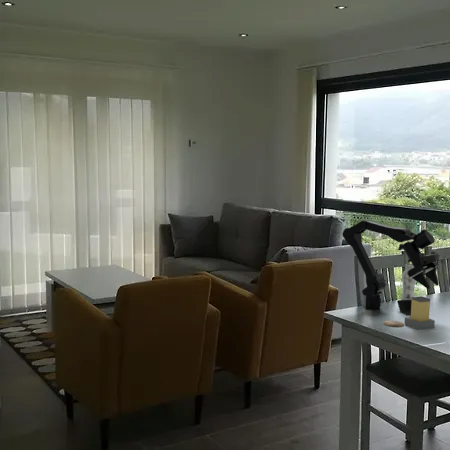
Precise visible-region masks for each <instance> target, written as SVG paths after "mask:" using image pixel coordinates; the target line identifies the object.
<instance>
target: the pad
mask: <svg viewBox="0 0 450 450" xmlns="http://www.w3.org/2000/svg"><path fill="white" fill-rule="evenodd" d="M383 325H385V326H386V327H387V326H388V327H391V328H402V327H404V326H405V322H404V323H403V322H401V321H397V320H384V321H383Z"/></svg>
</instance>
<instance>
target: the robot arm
mask: <svg viewBox="0 0 450 450" xmlns="http://www.w3.org/2000/svg"><path fill="white" fill-rule="evenodd" d="M366 231H370V232H374V233H377V234H381V235H384V236H387V237H388V238H390V239H391V240H394V241H395V242H398V243H399V244H398V247H397V248H398V249H397V251H404V254H406V256H407V258H408V259H407V261H408V263H410V264H412V265H413V267H414V268H412V269H410V270H409V271H408V273H407V274H408V276H409V278H410V277H412V279H414V280H416V281H415V282H417V283H419V284H420V285H421V286H423V287H424V288H426V289H427V290H428V289H430V288H431V287H430V284H429V282H428V280H427V279H429V280H430V281H431V282H432V284H434V285H435V286H436V287H437V286H439V285H440V283H439V279H438V274H437V270H438V268H439V264H438V262H439V261H440V254H439V253H438V252H437V250H436V251H431V252H430V254H427V255H426V254H425V252H421V250H424V249H426V248H428V247H429V246H431V245H433V244H434V243H435V237H434V236H433V235H432V234H431V233H430V232H429V231H428V230H427V228H426V229H425V228H424V229H422V230H421V231H420V232H418V233H414V232H412V231H411V230H410V228H407V227H397V226H395V227H394V226H389V225H386V224H382V223H379V222H374V221H371V220H370V219H362V220H361V221H359V222H358V223H356V224H354V225H352V226H350V227H346V228H344V229H343V230H342V233H341V234H342V238H343V239H344V241H345V242H346V243H347V244H348V245H349V246H350V247H351V248H352V249H353V252H354V253H355V256H356V258H357V260H358V262H359V264H360V266H361V268H362V271H363V273H364V274H365V275H364V276H365V283H366V286H365V287H364V289H362V290H361V292H362V295H363V296H364V300H363V304H362V306H363V307H364V308H365V310H381V306H382V305H381V304H382V303H381V302H382V301H381V300H382V299H381V298H380V297H381V296H380V295H382V292H383V291H384V290H385V289H386V286H387V284H386V282H387V280H386V279H385V278H384V275H383V273H378V272H377V271H376V269H375V267H374V266H373V263H372V261H371V258H370V257H369V254H368V253H367V251H366V249H365V247H364V244H363V236H362V234H364V233H365V232H366ZM420 249H421V250H420ZM413 275H414V277H413Z"/></svg>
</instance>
